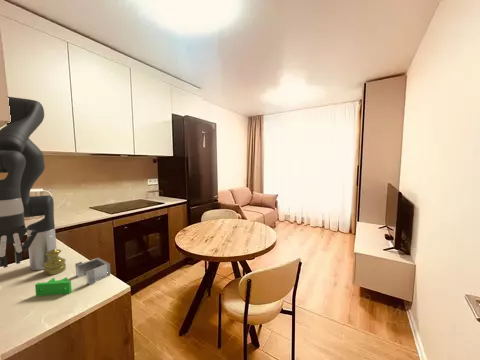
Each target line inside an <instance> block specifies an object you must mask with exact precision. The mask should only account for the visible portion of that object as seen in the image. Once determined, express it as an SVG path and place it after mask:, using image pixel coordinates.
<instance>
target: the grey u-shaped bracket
mask: <svg viewBox="0 0 480 360" xmlns="http://www.w3.org/2000/svg"><path fill="white" fill-rule="evenodd" d="M74 265H75V275H76V277H77V278H80V277H83V276H85V275H86V276H85V277H86V284H87V285H89V286H91V285H94V284H96V282H97V281H99V280H102V279H105V278H107V277H109V276H111V275H110V274H112V273H111V263H109V262H108V261H106V260H104V259H102V258H101V257H96V258H92V259H90V260H87V261H84V262H83V261H79V262H77V263H75V264H74ZM107 272H108V273H107Z"/></svg>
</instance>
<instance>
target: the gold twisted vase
mask: <svg viewBox="0 0 480 360" xmlns="http://www.w3.org/2000/svg"><path fill="white" fill-rule="evenodd" d="M60 253H62V250H61V249H60V248H59V249H58V248H57V249H52V250H51V251H49V252H47V253H46V255H47V256H50V258H49V260H47V261H46V262H45V263H44V264H43V267H44V269H42V270H43V275H44V276H53V275H57V274H60V273H62V272H64V271H65V270H66V269H67V264H66V258H65V257H62V256H60V255H59V254H60Z"/></svg>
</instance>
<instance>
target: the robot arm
mask: <svg viewBox="0 0 480 360" xmlns="http://www.w3.org/2000/svg"><path fill="white" fill-rule="evenodd" d="M7 97H8V98H9V106H10V115H11V122H10V123H7V124H6V123H5V125H4V126H3V127H2V128H1V129H0V174H3V173H4V174H7V175H6V177H4V178H2V179H0V267H3V268H7V267H8V257H7V255H6V249H7V246H8V245H10V244H13V247H14V262H15V264H16V265H17V264H18V265H19V264H21V262H22V261H23V259H24V258H23V251H24V250H26V249H28V256H29V266H30V267H29V268H30V270H31V271H40V270H41V271H42V270H43V269H44V267H43V264H44V263H45V262H46V261H47V260H49V258H50V256H47V255H46V253H47V252H49V251H51V250H52V249H58V248H57V238H56V237H57V236H56V227H55V226H56V225H55V211H54V210H55V209H54V208H55V207H54V206H55V203H54V199H53V196H51V195H49V194H46V195H35V196H34V195H33V196H31V195H30V192H31V189H32V188H33V186H34V184H35V182H37V180H38V179H39V178H40V177H41V175H43V173H44V171H45V169H46V165H45V158H44V157H45V156H44V153H43V151H42V150H41V149H40V148H39V147H38V145H36V144H35V143H34V142H33V141H32V140H31V139H30V136H31V135H32V134H33V133H34V132H35V131H36V130H37V129H38V127H39V126H40V125H41V124H42V122H43V121H44V118H45V110H44V107H43V105H42V103H41V102H40V101H38V100H34V99H29V98H21V97H13V96H7ZM42 216H44V217H43V218H41V219H40V220H38V221H36V222H33V223H31V224H28V225H27V226H26V224H25V223H26V222H25V218H32V217H42ZM24 236H27V238H26V239H25V241H24V242H23V243H21V240H22V239H23V238H24Z"/></svg>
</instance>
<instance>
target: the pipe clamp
mask: <svg viewBox="0 0 480 360" xmlns="http://www.w3.org/2000/svg"><path fill="white" fill-rule="evenodd" d="M68 279H69V278H68V277H64V278H62V279H59V280H56V278H51V279H50V280H48V281H47V282H45V281H44V282H37V283H35V286H34V287H35V296H36V297H43V296H53V295H54V296H56V295H68V294H71V293H72V291H73V290H72V280H68Z"/></svg>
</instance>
